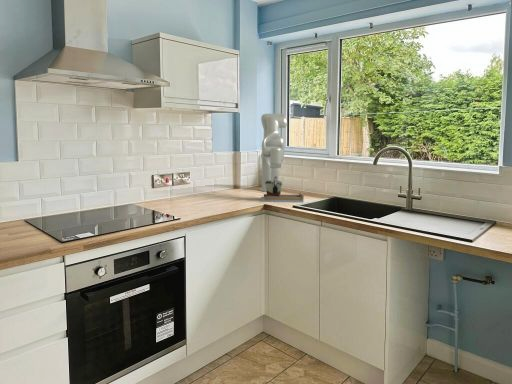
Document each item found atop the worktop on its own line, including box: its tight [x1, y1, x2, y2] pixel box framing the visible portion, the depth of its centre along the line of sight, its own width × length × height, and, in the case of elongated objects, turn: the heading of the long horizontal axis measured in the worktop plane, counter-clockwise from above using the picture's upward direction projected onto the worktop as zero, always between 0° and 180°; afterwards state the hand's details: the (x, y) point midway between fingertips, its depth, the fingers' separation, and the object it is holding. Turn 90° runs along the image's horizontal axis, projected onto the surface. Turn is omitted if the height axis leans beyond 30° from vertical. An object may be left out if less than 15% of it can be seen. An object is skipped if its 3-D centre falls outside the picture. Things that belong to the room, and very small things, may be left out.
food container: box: [265, 180, 284, 197], centre depth 282 cm, size 12×6×10 cm, turn 68°
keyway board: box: [260, 191, 305, 203], centre depth 282 cm, size 12×28×5 cm, turn 91°
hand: (274, 192), depth 282 cm, fingers closed on food container, 6 cm apart
